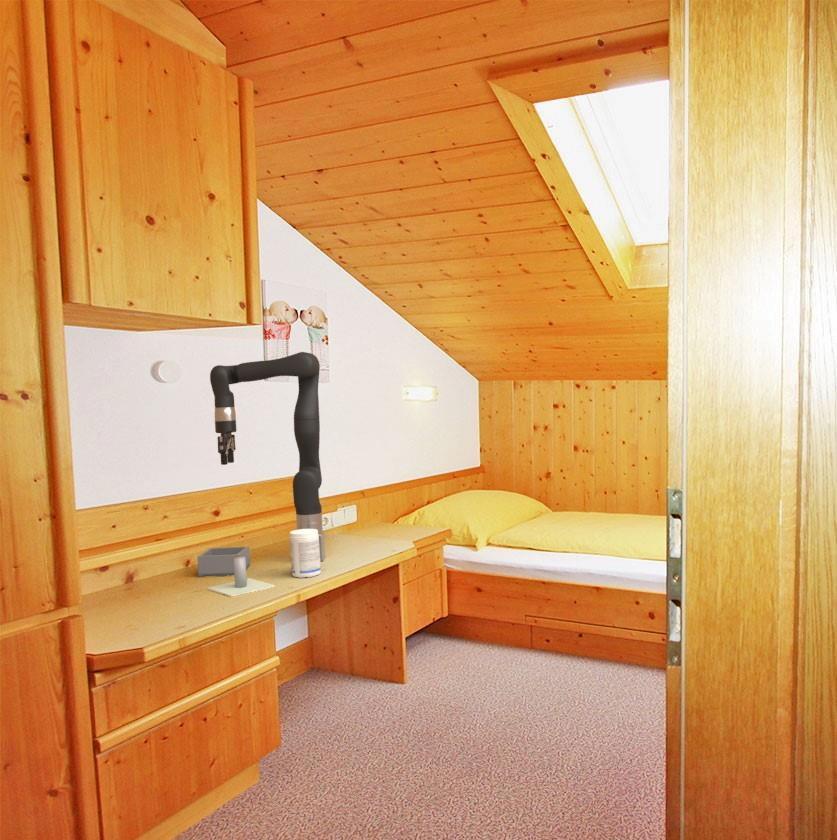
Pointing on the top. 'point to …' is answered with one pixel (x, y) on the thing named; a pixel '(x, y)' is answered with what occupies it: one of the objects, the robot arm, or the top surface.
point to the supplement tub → (305, 553)
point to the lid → (240, 581)
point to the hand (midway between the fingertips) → (227, 463)
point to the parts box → (221, 561)
